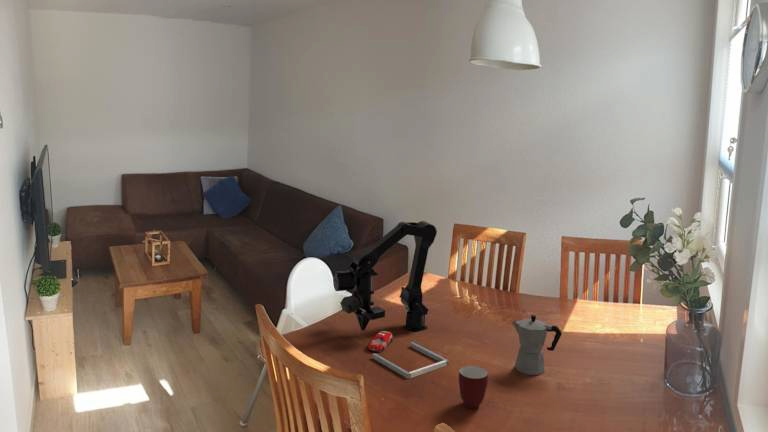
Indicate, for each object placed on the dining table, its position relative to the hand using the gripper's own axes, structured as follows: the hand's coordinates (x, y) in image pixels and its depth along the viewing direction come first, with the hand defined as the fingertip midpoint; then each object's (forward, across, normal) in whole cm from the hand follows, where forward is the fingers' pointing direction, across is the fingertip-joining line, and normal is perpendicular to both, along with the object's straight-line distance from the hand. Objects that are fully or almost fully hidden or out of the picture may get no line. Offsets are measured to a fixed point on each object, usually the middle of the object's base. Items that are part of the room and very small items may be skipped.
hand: (362, 330), depth 224 cm
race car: (+2, +10, 0) cm, 11 cm away
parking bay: (+2, +26, 0) cm, 26 cm away
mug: (+2, +57, -3) cm, 58 cm away
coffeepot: (+2, +53, +28) cm, 60 cm away
